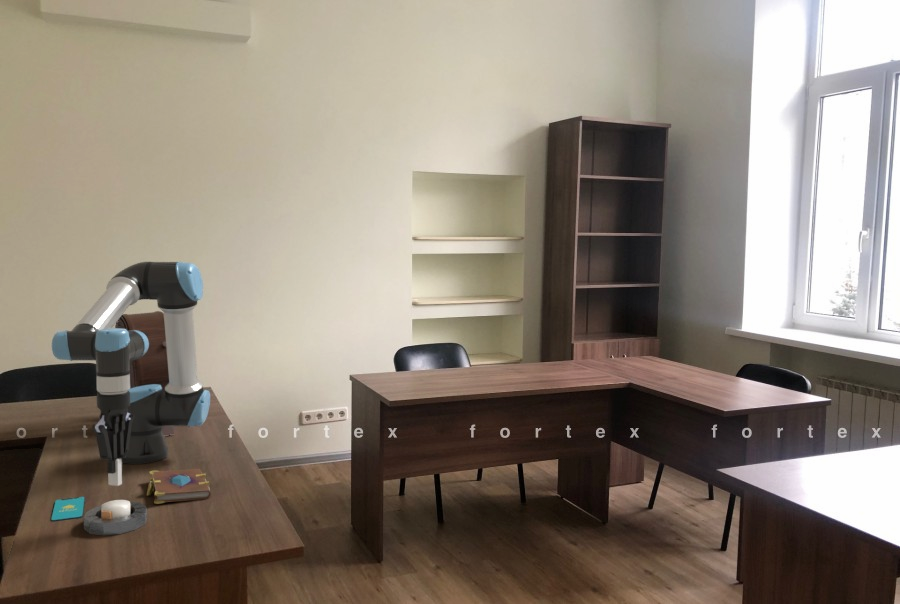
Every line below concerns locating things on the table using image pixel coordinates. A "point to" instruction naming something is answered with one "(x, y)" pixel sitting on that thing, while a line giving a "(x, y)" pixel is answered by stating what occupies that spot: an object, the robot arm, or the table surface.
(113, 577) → the table surface
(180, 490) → the book
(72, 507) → the smartphone
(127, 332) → the robot arm
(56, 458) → the table surface
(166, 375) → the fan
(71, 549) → the table surface
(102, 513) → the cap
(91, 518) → the faceted grey ring
